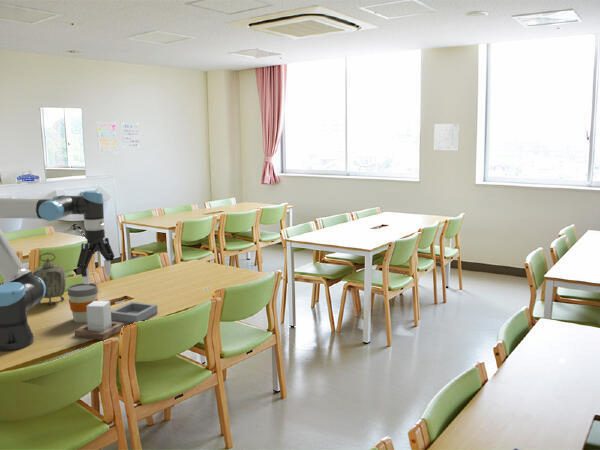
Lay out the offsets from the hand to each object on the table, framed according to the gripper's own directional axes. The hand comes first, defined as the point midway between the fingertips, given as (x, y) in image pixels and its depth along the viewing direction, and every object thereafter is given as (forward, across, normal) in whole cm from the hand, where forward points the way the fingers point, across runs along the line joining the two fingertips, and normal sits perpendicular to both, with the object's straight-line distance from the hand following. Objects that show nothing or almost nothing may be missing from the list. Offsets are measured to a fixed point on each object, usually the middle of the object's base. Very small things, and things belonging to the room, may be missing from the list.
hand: (97, 279), depth 222 cm
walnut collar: (+23, 0, 0) cm, 23 cm away
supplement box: (+23, 0, 0) cm, 23 cm away
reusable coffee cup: (+23, +11, +17) cm, 30 cm away
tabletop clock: (+23, +24, +48) cm, 58 cm away
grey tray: (+23, +21, -2) cm, 31 cm away
